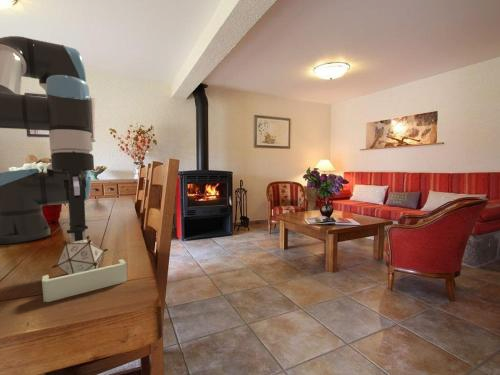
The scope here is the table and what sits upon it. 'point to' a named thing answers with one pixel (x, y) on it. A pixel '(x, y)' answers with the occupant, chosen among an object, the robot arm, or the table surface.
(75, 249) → the game die
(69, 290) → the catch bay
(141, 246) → the table surface
